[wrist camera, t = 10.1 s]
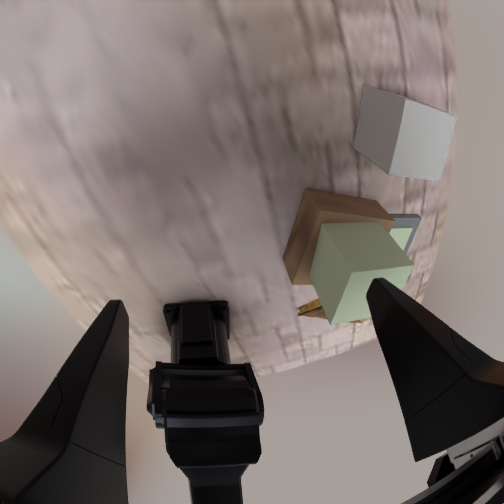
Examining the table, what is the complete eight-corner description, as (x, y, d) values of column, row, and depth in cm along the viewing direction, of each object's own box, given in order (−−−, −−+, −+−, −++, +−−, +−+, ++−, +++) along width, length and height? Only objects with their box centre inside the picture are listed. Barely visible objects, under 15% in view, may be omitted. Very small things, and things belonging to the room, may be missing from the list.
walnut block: (346, 259, 27) (361, 284, 24) (281, 256, 25) (292, 284, 22) (374, 199, 23) (395, 221, 20) (304, 187, 21) (320, 210, 18)
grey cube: (401, 153, 20) (439, 181, 16) (352, 147, 19) (388, 174, 15) (413, 99, 17) (456, 117, 13) (362, 85, 16) (405, 98, 12)
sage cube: (379, 221, 20) (414, 265, 16) (361, 270, 23) (387, 313, 19) (321, 223, 19) (351, 272, 15) (309, 275, 22) (330, 325, 18)
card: (402, 253, 27) (406, 258, 27) (365, 256, 27) (369, 262, 26) (418, 214, 24) (423, 219, 23) (380, 214, 23) (385, 219, 23)
